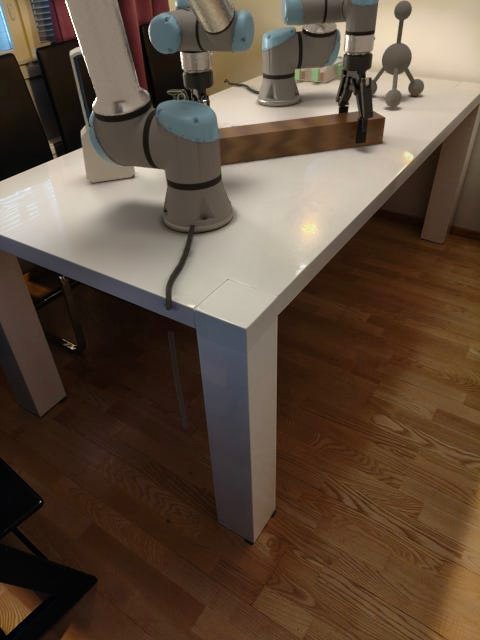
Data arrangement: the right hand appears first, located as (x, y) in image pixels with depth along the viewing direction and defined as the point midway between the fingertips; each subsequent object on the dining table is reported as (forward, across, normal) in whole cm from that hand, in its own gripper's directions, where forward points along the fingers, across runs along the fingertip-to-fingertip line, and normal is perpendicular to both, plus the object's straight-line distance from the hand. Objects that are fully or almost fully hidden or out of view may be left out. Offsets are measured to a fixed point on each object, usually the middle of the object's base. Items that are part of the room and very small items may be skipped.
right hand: (350, 136), depth 141 cm
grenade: (+2, +40, +44) cm, 59 cm away
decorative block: (+1, +82, -22) cm, 85 cm away
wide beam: (+2, 0, +21) cm, 21 cm away
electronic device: (+2, -1, +69) cm, 69 cm away
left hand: (+1, 0, +43) cm, 43 cm away
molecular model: (+2, +37, -34) cm, 50 cm away
